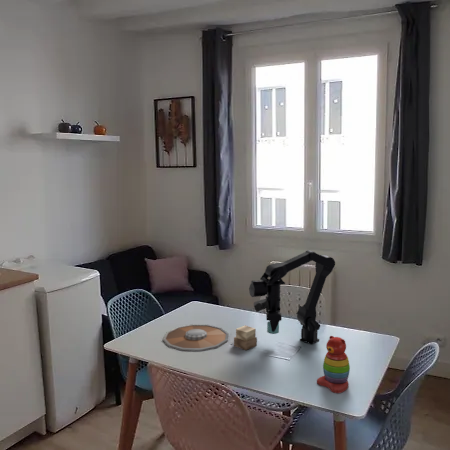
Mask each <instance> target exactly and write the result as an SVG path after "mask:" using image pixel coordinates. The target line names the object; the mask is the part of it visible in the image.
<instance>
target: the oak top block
mask: <svg viewBox="0 0 450 450" xmlns="http://www.w3.org/2000/svg"><path fill="white" fill-rule="evenodd" d="M256 333H257V331H256V328H255V327H252V326H248V325H243V326H239V327H237V328H235V337H236V338H238V339H241V340H244V341H249V340H251V339H253V338H255V337H256Z"/></svg>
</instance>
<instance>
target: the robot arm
mask: <svg viewBox="0 0 450 450" xmlns="http://www.w3.org/2000/svg"><path fill="white" fill-rule="evenodd" d="M310 262H314V263H315V265H314V266H315V274H314V278H313V281H312V284H311V287H310V289H309V291H308V295H307V299H306V300H305V303H304V304H303V305H299V306H298V310H297V311H296V318H297V321H298V322H299V323H300V325H301V331H300V332H301V333H300V338H299V341H300V342H304V343H307V344H310V345H313V344H315V343H317V342H319V341H320V338H319V337H318V332H319V330H320V328H321V324H320V323H319V322H317V321H316V320H317V306H318V302H319V299H320V297H321V293H322V292H323V288H324V287H325V283H326V279H327V278H328V277H329V275H330V274H331V273H332V272H333V269H334V268H335V266H336V261H335V259H334V258H333V257H332V256H328V255H326V254H319V253H316V252H315V251H313V250H310V249H308V250H306V251H304V252H302V253H300V254H298V255H296V256H294V257H292V258H289V259H287V260H285V261H282V262H276V263H272V264H268V265H267V266H266V268H265V271H264V273H263V274H262V276H261V277H260V280H251V281H250V284H249V288H248V290H249V295H250V297H251V298H255V297H256V298H257V297H265V298H264V299H260V300H257V301H254V302H253V307H254V310H255V312H256V313H259V312H260V311H264V310H265V312H266V316H265V317H266V321H268V322H269V321H270V324H271V329H272V332H275V330H276V328H277V325H278V323H279V324H280V322H281V321H282V312H281V285H286V282H285V281H284V280H283V278H284V277H286V275H287V274H288V273H289V272H291V271H293V270H295V269H297V268H300V267H302V266H303V265H305V264H307V263H310Z"/></svg>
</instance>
